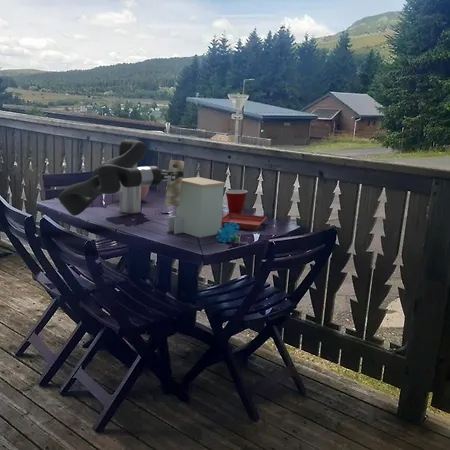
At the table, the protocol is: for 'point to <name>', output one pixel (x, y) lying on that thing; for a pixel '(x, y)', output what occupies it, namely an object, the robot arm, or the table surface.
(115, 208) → the table surface
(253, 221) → the plant saucer
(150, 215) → the table surface
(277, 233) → the table surface
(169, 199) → the tall wooden plank
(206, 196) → the cabinet
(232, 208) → the plastic cup
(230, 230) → the gear
